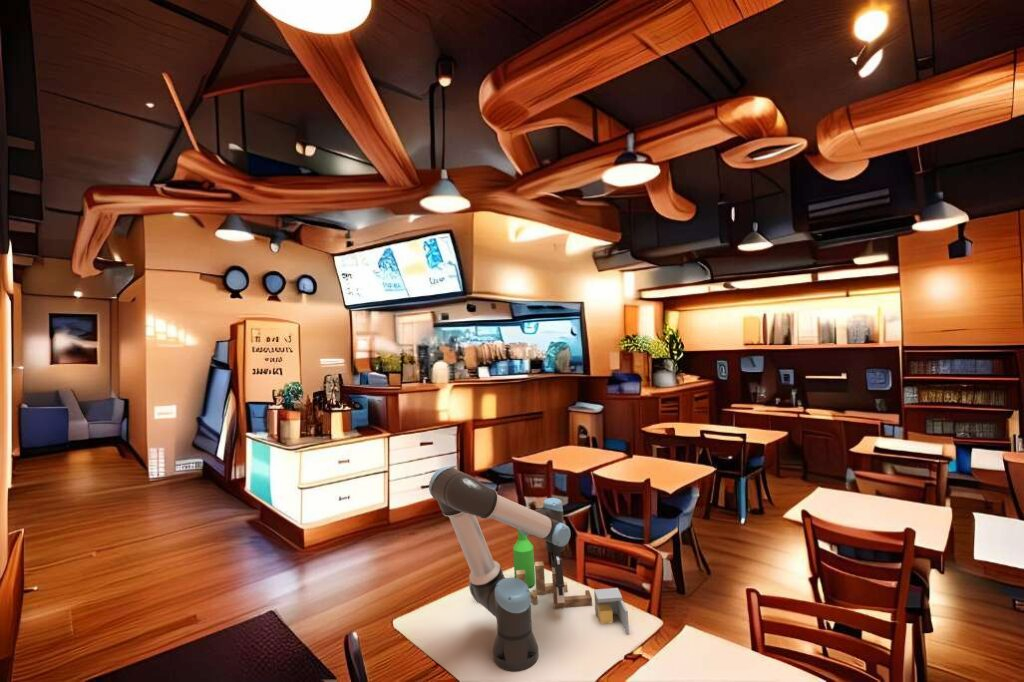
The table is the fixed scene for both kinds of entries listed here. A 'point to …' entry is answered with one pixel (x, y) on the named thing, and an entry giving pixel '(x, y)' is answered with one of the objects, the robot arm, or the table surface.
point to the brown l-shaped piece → (571, 598)
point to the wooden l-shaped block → (543, 581)
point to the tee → (522, 577)
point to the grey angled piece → (612, 604)
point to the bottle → (524, 558)
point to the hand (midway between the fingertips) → (558, 592)
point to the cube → (605, 613)
